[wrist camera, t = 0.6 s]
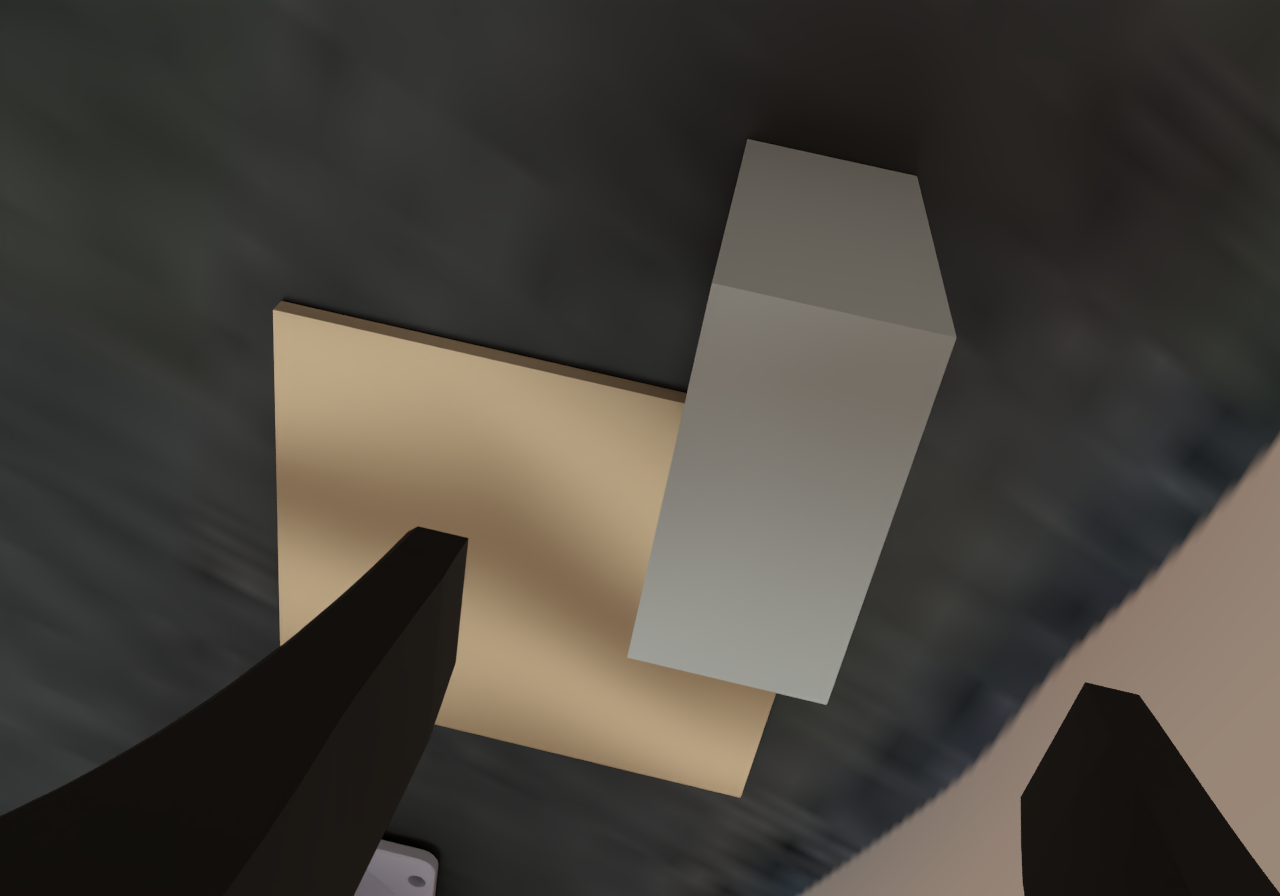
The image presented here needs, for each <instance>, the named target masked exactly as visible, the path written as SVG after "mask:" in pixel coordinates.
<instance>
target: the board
mask: <svg viewBox="0 0 1280 896" xmlns="http://www.w3.org/2000/svg"><path fill="white" fill-rule="evenodd" d="M273 333H274V380H275V427H276V473H277V520H278V567H279V614H280V646H281V645H283V644H284V643H285V642H286V641H288V640H289V639H290V638H291V637H293V636H294V635H295V634H296V633H298V632H299V631H300V630H301V629H302V628H303V627H305V626H306V625H307V624H308V623H309V622H311V621H312V620H313V619H314V618H315V617H316V616H318V615H319V614H320V613H321V612H322V611H323V610H325V609H326V608H327V607H328V606H329V605H331V604H332V603H333V602H334V601H335V600H336V599H338V598H339V597H340V596H341V595H342V594H343V593H344V592H345V591H347V590H348V589H349V588H350V587H351V586H352V585H353V584H354V583H355V582H356V581H358V580H359V579H360V578H361V577H362V576H363V575H364V574H365V573H366V572H367V571H368V570H369V569H370V568H372V567H373V566H374V565H375V564H376V563H377V562H378V561H379V560H380V559H381V558H382V557H383V556H384V555H385V554H386V553H387V552H388V551H389V550H390V549H391V548H392V547H393V546H394V545H395V544H396V543H397V542H398V541H399V540H400V539H401V538H402V537H403V536H404V535H405V534H406V533H407V532H408V531H410V530H412V529H414V528H415V527H417V526H419V527H423V528H428V529H432V530H436V531H441V532H445V533H449V534H453V535H458V536H462V537H466V538H469V539H468V549H467V559H466V568H465V578H464V588H463V598H462V607H461V617H460V627H459V636H458V646H457V656H456V664H455V667H454V669H453V672H452V675H451V678H450V681H449V684H448V687H447V690H446V693H445V696H444V699H443V702H442V705H441V708H440V710H439V713H438V716H437V719H436V722H435V724H436V725H440V726H444V727H448V728H453V729H457V730H461V731H465V732H469V733H473V734H478V735H482V736H486V737H490V738H494V739H498V740H502V741H507V742H511V743H515V744H519V745H523V746H527V747H532V748H536V749H540V750H544V751H548V752H552V753H556V754H561V755H565V756H569V757H573V758H577V759H581V760H586V761H590V762H594V763H598V764H602V765H606V766H610V767H615V768H619V769H623V770H627V771H631V772H635V773H640V774H644V775H648V776H652V777H656V778H660V779H664V780H669V781H673V782H677V783H681V784H685V785H689V786H694V787H698V788H702V789H706V790H710V791H714V792H718V793H723V794H727V795H731V796H735V797H739V798H741V795H742V792H743V789H744V786H745V783H746V780H747V777H748V774H749V771H750V768H751V765H752V763H753V760H754V757H755V754H756V751H757V748H758V745H759V742H760V739H761V736H762V733H763V730H764V727H765V724H766V721H767V718H768V715H769V713H770V710H771V707H772V704H773V701H774V698H775V695H776V693H774V692H770V691H766V690H762V689H758V688H753V687H749V686H745V685H741V684H736V683H732V682H728V681H724V680H720V679H715V678H711V677H707V676H703V675H698V674H694V673H690V672H686V671H682V670H677V669H673V668H669V667H665V666H661V665H656V664H652V663H648V662H644V661H639V660H635V659H631V658H627V656H628V651H629V647H630V643H631V638H632V634H633V629H634V625H635V621H636V616H637V612H638V607H639V603H640V598H641V594H642V590H643V585H644V581H645V576H646V572H647V568H648V563H649V559H650V554H651V550H652V545H653V541H654V537H655V532H656V528H657V523H658V519H659V515H660V510H661V506H662V501H663V497H664V492H665V488H666V484H667V479H668V475H669V470H670V466H671V462H672V457H673V453H674V448H675V444H676V439H677V435H678V431H679V426H680V422H681V417H682V413H683V409H684V404H685V400H686V395H687V393H683V392H679V391H675V390H670V389H666V388H661V387H657V386H653V385H648V384H644V383H640V382H635V381H631V380H626V379H622V378H618V377H613V376H609V375H604V374H600V373H596V372H591V371H587V370H583V369H578V368H574V367H569V366H565V365H561V364H556V363H552V362H547V361H543V360H539V359H534V358H530V357H526V356H521V355H517V354H512V353H508V352H504V351H499V350H495V349H490V348H486V347H482V346H477V345H473V344H468V343H464V342H460V341H455V340H451V339H447V338H442V337H438V336H433V335H429V334H425V333H420V332H416V331H411V330H407V329H403V328H398V327H394V326H390V325H385V324H381V323H376V322H372V321H368V320H363V319H359V318H354V317H350V316H346V315H341V314H337V313H333V312H328V311H324V310H319V309H315V308H311V307H306V306H302V305H297V304H293V303H289V302H284V301H281V302H280V303H279V304H278V305H277V306H276V307H275V308H274V309H273Z"/></svg>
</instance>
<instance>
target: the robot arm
mask: <svg viewBox="0 0 1280 896" xmlns="http://www.w3.org/2000/svg"><path fill="white" fill-rule="evenodd" d="M468 539H469V538H466V537H462V536H458V535H453V534H449V533H445V532H441V531H436V530H432V529H428V528H423V527H419V526H417V527H415V528H414V529H412V530H410V531H408V532H407V533H406V534H405V535H404V536H403V537H402V538H401V539H400V540H399V541H398V542H397V543H396V544H395V545H394V546H393V547H392V548H391V549H390V550H389V551H388V552H387V553H386V554H385V555H384V556H383V557H382V558H381V559H380V560H379V561H378V562H377V563H376V564H375V565H374V566H373V567H372V568H370V569H369V570H368V571H367V572H366V573H365V574H364V575H363V576H362V577H361V578H360V579H359V580H358V581H356V582H355V583H354V584H353V585H352V586H351V587H350V588H349V589H348V590H347V591H345V592H344V593H343V594H342V595H341V596H340V597H339V598H338V599H336V600H335V601H334V602H333V603H332V604H331V605H329V606H328V607H327V608H326V609H325V610H323V611H322V612H321V613H320V614H319V615H318V616H316V617H315V618H314V619H313V620H312V621H311V622H309V623H308V624H307V625H306V626H305V627H303V628H302V629H301V630H300V631H299V632H298V633H296V634H295V635H294V636H293V637H291V638H290V639H289V640H288V641H286V642H285V643H284V644H283V645H281V646H280V647H279V648H277V649H276V650H275V651H273V652H272V653H271V654H269V655H268V656H267V657H265V658H264V659H263V660H262V661H260V662H259V663H258V664H256V665H255V666H254V667H252V668H251V669H250V670H248V671H247V672H246V673H244V674H243V675H242V676H240V677H239V678H238V679H236V680H235V681H234V682H232V683H231V684H230V685H228V686H227V687H225V688H224V689H222V690H221V691H220V692H218V693H217V694H215V695H214V696H212V697H211V698H210V699H208V700H207V701H205V702H204V703H202V704H201V705H199V706H198V707H196V708H195V709H193V710H192V711H190V712H189V713H187V714H186V715H184V716H182V717H181V718H179V719H178V720H176V721H175V722H173V723H171V724H170V725H168V726H167V727H165V728H164V729H162V730H161V731H159V732H157V733H156V734H154V735H152V736H151V737H149V738H147V739H146V740H144V741H142V742H140V743H139V744H137V745H135V746H134V747H132V748H130V749H128V750H127V751H125V752H123V753H121V754H120V755H118V756H116V757H115V758H113V759H111V760H109V761H108V762H106V763H104V764H102V765H101V766H99V767H97V768H95V769H94V770H92V771H90V772H88V773H86V774H84V775H83V776H81V777H79V778H77V779H75V780H73V781H71V782H69V783H67V784H66V785H64V786H62V787H60V788H58V789H56V790H54V791H52V792H50V793H48V794H45V795H43V796H41V797H39V798H37V799H35V800H33V801H31V802H29V803H27V804H25V805H23V806H21V807H18V808H16V809H14V810H12V811H10V812H8V813H6V814H4V815H2V816H0V896H435V892H436V882H437V873H438V860H437V859H436V858H435V856H434V855H433V854H431V853H430V852H428V851H425V850H423V849H418V848H414V847H410V846H406V845H402V844H398V843H394V842H390V841H386V840H382V837H383V835H384V833H385V831H386V829H387V826H388V824H389V822H390V820H391V818H392V816H393V814H394V812H395V810H396V808H397V806H398V804H399V802H400V800H401V798H402V796H403V793H404V791H405V789H406V787H407V785H408V783H409V781H410V779H411V777H412V775H413V773H414V770H415V768H416V766H417V764H418V762H419V760H420V758H421V756H422V754H423V752H424V749H425V747H426V745H427V743H428V741H429V739H430V736H431V733H432V730H433V727H434V724H435V722H436V719H437V716H438V713H439V710H440V708H441V705H442V702H443V699H444V696H445V693H446V690H447V687H448V684H449V681H450V678H451V675H452V672H453V669H454V667H455V664H456V656H457V646H458V636H459V627H460V617H461V607H462V598H463V588H464V578H465V568H466V559H467V549H468ZM1021 850H1022V875H1023V887H1024V895H1025V896H1280V893H1279V892H1278V891H1277V889H1276V888H1275V887H1274V885H1273V884H1272V883H1271V882H1270V880H1269V879H1268V877H1267V876H1266V875H1265V874H1264V872H1263V871H1262V869H1261V868H1260V867H1259V865H1258V864H1257V863H1256V861H1255V860H1254V858H1252V856H1251V855H1250V853H1249V852H1248V850H1247V849H1246V848H1245V846H1244V845H1243V843H1242V842H1241V841H1240V839H1239V838H1238V836H1237V835H1236V834H1235V832H1234V831H1233V829H1232V828H1231V827H1230V825H1229V824H1228V822H1227V821H1226V820H1225V818H1224V817H1223V815H1222V814H1221V813H1220V811H1219V810H1218V808H1217V807H1216V805H1215V804H1214V803H1213V801H1212V800H1211V798H1210V797H1209V795H1208V794H1207V792H1206V791H1205V789H1204V788H1203V787H1202V785H1201V784H1200V782H1199V781H1198V779H1197V778H1196V777H1195V775H1194V774H1193V772H1192V771H1191V769H1190V768H1189V766H1188V765H1187V763H1186V762H1185V760H1184V759H1183V758H1182V756H1181V755H1180V753H1179V752H1178V750H1177V749H1176V747H1175V746H1174V744H1173V743H1172V741H1171V740H1170V739H1169V737H1168V736H1167V734H1166V733H1165V731H1164V730H1163V728H1162V727H1161V726H1160V724H1159V722H1158V721H1157V720H1156V718H1155V717H1154V715H1153V714H1152V713H1151V711H1150V710H1149V708H1148V707H1147V706H1146V704H1145V703H1144V701H1143V700H1142V699H1141V697H1140V696H1139V695H1137V694H1133V693H1129V692H1124V691H1120V690H1116V689H1111V688H1107V687H1103V686H1099V685H1094V684H1090V683H1085V684H1084V686H1083V687H1082V689H1081V691H1080V693H1079V694H1078V696H1077V698H1076V700H1075V702H1074V703H1073V705H1072V707H1071V709H1070V710H1069V712H1068V714H1067V716H1066V718H1065V719H1064V721H1063V723H1062V725H1061V727H1060V728H1059V730H1058V732H1057V734H1056V735H1055V737H1054V739H1053V741H1052V743H1051V744H1050V746H1049V748H1048V750H1047V752H1046V753H1045V755H1044V757H1043V759H1042V760H1041V762H1040V764H1039V766H1038V767H1037V769H1036V771H1035V773H1034V775H1033V776H1032V778H1031V780H1030V782H1029V784H1028V785H1027V787H1026V789H1025V791H1024V792H1023V794H1022V796H1021Z"/></svg>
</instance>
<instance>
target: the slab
mask: <svg viewBox="0 0 1280 896" xmlns="http://www.w3.org/2000/svg"><path fill="white" fill-rule="evenodd" d="M955 341H956V334H955V330H954V325H953V321H952V317H951V313H950V309H949V305H948V301H947V297H946V293H945V289H944V285H943V280H942V276H941V272H940V268H939V264H938V260H937V256H936V252H935V248H934V244H933V240H932V236H931V231H930V227H929V223H928V219H927V215H926V211H925V207H924V203H923V199H922V195H921V191H920V186H919V182H918V178H917V176H914V175H909V174H905V173H900V172H896V171H891V170H887V169H882V168H878V167H873V166H868V165H864V164H859V163H855V162H850V161H846V160H841V159H837V158H832V157H827V156H823V155H818V154H814V153H809V152H805V151H800V150H795V149H791V148H786V147H782V146H777V145H773V144H768V143H764V142H759V141H754V140H750V139H747V143H746V147H745V151H744V155H743V159H742V163H741V167H740V171H739V175H738V179H737V183H736V187H735V192H734V196H733V200H732V204H731V208H730V212H729V216H728V220H727V224H726V228H725V232H724V236H723V240H722V244H721V248H720V252H719V256H718V260H717V264H716V268H715V273H714V277H713V281H712V285H711V289H710V294H709V298H708V303H707V307H706V311H705V316H704V320H703V325H702V329H701V333H700V338H699V342H698V347H697V351H696V356H695V360H694V364H693V369H692V373H691V378H690V382H689V386H688V391H687V395H686V400H685V404H684V409H683V413H682V417H681V422H680V426H679V431H678V435H677V439H676V444H675V448H674V453H673V457H672V462H671V466H670V470H669V475H668V479H667V484H666V488H665V492H664V497H663V501H662V506H661V510H660V515H659V519H658V523H657V528H656V532H655V537H654V541H653V545H652V550H651V554H650V559H649V563H648V568H647V572H646V576H645V581H644V585H643V590H642V594H641V598H640V603H639V607H638V612H637V616H636V621H635V625H634V629H633V634H632V638H631V643H630V647H629V651H628V656H627V658H631V659H635V660H639V661H644V662H648V663H652V664H656V665H661V666H665V667H669V668H673V669H677V670H682V671H686V672H690V673H694V674H698V675H703V676H707V677H711V678H715V679H720V680H724V681H728V682H732V683H736V684H741V685H745V686H749V687H753V688H758V689H762V690H766V691H770V692H774V693H779V694H783V695H787V696H791V697H796V698H800V699H804V700H808V701H812V702H817V703H821V704H825V705H827V703H828V700H829V697H830V694H831V691H832V689H833V686H834V683H835V680H836V677H837V674H838V672H839V669H840V666H841V663H842V660H843V657H844V655H845V652H846V649H847V646H848V643H849V641H850V638H851V635H852V632H853V629H854V626H855V624H856V621H857V618H858V615H859V612H860V609H861V607H862V604H863V601H864V598H865V595H866V592H867V590H868V587H869V584H870V581H871V578H872V575H873V573H874V570H875V567H876V564H877V561H878V559H879V556H880V553H881V550H882V547H883V544H884V542H885V539H886V536H887V533H888V530H889V527H890V525H891V522H892V519H893V516H894V513H895V510H896V508H897V505H898V502H899V499H900V496H901V493H902V491H903V488H904V485H905V482H906V479H907V477H908V474H909V471H910V468H911V465H912V462H913V460H914V457H915V454H916V451H917V448H918V445H919V443H920V440H921V437H922V434H923V431H924V428H925V426H926V423H927V420H928V417H929V414H930V411H931V409H932V406H933V403H934V400H935V397H936V394H937V392H938V389H939V386H940V383H941V380H942V378H943V375H944V372H945V369H946V366H947V363H948V361H949V358H950V355H951V352H952V349H953V346H954V344H955Z"/></svg>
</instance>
